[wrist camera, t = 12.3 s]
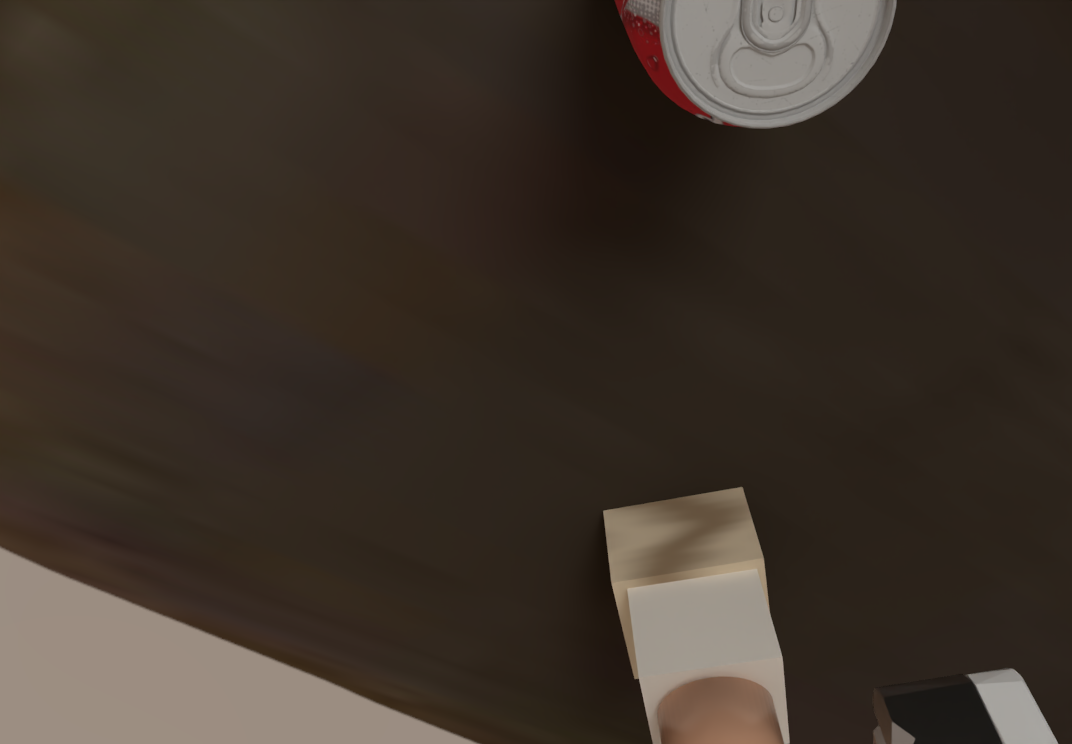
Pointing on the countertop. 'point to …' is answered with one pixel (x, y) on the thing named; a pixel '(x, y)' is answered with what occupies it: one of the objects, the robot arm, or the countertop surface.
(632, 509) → the tower base
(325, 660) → the countertop surface
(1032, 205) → the countertop surface
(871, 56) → the soda can
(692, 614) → the tower top
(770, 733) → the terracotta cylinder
